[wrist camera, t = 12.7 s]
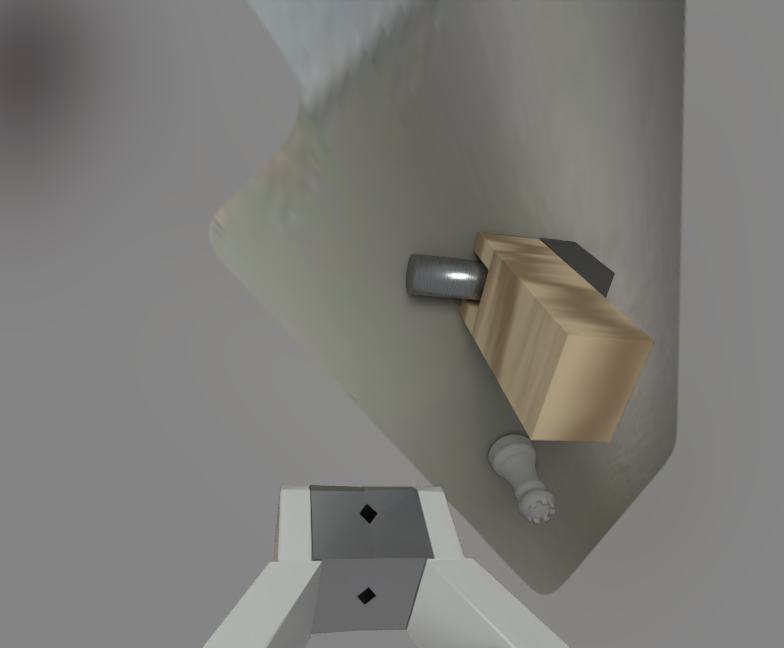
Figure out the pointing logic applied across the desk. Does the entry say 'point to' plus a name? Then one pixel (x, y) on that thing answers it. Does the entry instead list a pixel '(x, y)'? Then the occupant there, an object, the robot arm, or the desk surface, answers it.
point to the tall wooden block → (553, 342)
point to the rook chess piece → (522, 476)
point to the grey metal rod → (445, 277)
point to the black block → (582, 263)
